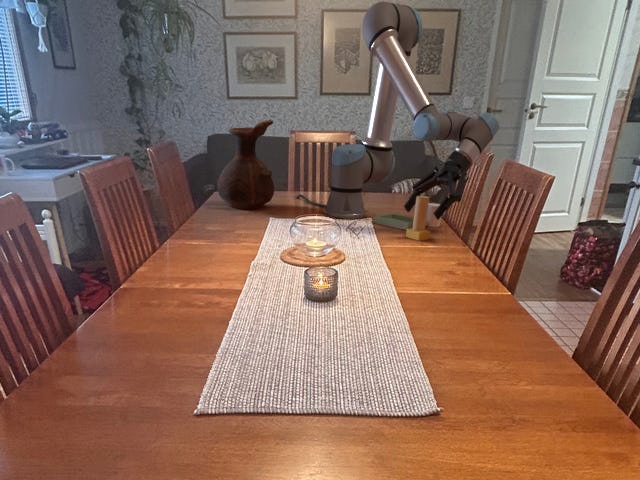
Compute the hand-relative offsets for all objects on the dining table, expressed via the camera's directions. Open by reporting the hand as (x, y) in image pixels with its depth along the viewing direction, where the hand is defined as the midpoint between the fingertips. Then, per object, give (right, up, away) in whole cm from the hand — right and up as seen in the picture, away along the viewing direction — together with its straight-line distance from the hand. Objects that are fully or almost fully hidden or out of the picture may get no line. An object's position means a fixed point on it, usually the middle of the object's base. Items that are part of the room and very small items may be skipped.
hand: (420, 212), depth 189 cm
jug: (-60, +19, +41) cm, 75 cm away
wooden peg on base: (0, -6, +4) cm, 8 cm away
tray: (-3, +5, +22) cm, 22 cm away
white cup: (+9, +5, +23) cm, 25 cm away
